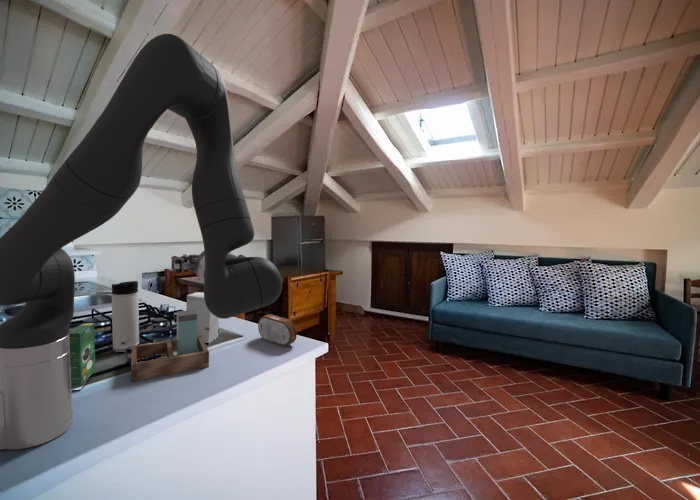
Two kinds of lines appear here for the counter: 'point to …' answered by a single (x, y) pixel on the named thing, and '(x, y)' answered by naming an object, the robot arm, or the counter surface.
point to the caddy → (166, 359)
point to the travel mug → (125, 315)
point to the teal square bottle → (186, 332)
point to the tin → (277, 329)
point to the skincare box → (203, 317)
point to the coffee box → (82, 353)
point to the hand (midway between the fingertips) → (205, 258)
